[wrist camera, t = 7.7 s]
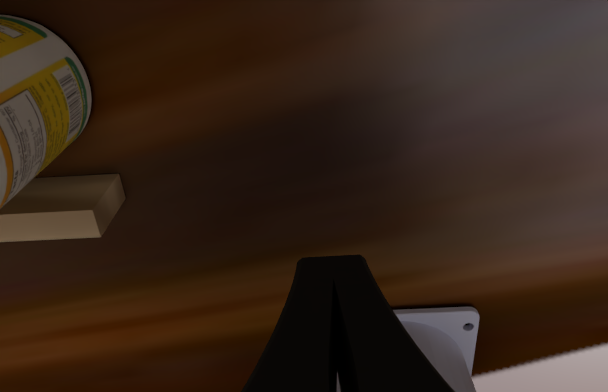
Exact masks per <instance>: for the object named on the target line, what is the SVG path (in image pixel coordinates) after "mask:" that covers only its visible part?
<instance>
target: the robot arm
mask: <svg viewBox="0 0 608 392" xmlns="http://www.w3.org/2000/svg"><path fill="white" fill-rule="evenodd" d="M479 319H480V318H479V314H478V311H477V310H476V309H475V308H473V307H448V308H425V309H402V310H392V308H391V307H390V305H389V304H388V302H387V300H386V299H385V297H384V295H383V294H382V292H381V290H380V288H379V287H378V285H377V283H376V281H375V279H374V277H373V275H372V273H371V271H370V269H369V267H368V265H367V262H366V260H365V258H363V257H362V256H361V255H344V256H326V257H307V258H302V259H300V260H299V261H298V262H297V268H296V272H295V276H294V280H293V283H292V287H291V290H290V292H289V295H288V298H287V301H286V303H285V306H284V308H283V311H282V313H281V315H280V318H279V320H278V322H277V325H276V327H275V329H274V331H273V334H272V336H271V338H270V340H269V342H268V344H267V346H266V348H265V350H264V352H263V353H262V355H261V357H260V359H259V361H258V363H257V365H256V367H255V369H254V371H253V372H252V374H251V376H250V378H249V379H248V381H247V383H246V385H245V386H244V388H243V390H242V391H241V392H476V390H475V388H474V384H473V382H472V379H471V374H472V367H473V360H474V353H475V346H476V339H477V332H478V325H479ZM467 323H470V324H469V325H465V324H467Z"/></svg>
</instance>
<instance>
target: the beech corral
mask: <svg viewBox="0 0 608 392" xmlns="http://www.w3.org/2000/svg"><path fill="white" fill-rule="evenodd" d="M125 199H126V197H125V194H124V190H123V186H122V183H121V179H120V175H119V174H102V175H83V176H65V177H46V178H33V179H32V180H31V181H30V182H29V183H28V184H27V185H26V186H24V187H23V188H22V189H21V190H20V191H19V192H18V193H17V194H16V195H15V196H14V197H13V198H12V199H11V200H10V201H8V202H7V203H6V204H5V205H4V206H3V207H2V208H1V209H0V242H11V241H31V240H52V239H72V238H92V237H101V236H102V235H103V233H104V231H105V230H106V228H107V227H108V225H109V224H110V222H111V221H112V219H113V217H114V216H115V214H116V213H117V211H118V210H119V208H120V207H121V205H122V203H123V202H124V200H125Z"/></svg>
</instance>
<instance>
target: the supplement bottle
mask: <svg viewBox="0 0 608 392" xmlns="http://www.w3.org/2000/svg"><path fill="white" fill-rule="evenodd" d="M91 102H92V99H91V88H90V84H89V81H88V78H87V75H86V72H85V70H84V68H83V66H82V64H81V62H80V61H79V59H78V58H77V56H76V55H75V54H74V52H73V51H72V50H71V49H70V47H69V46H68V45H67V44H66V43H65V42H64V41H63V40H62V39H60V38H59V37H58V36H57V35H55V34H54V33H53V32H51V31H50V30H48V29H47V28H45V27H44V26H42V25H40V24H37V23H35V22H32V21H29V20H26V19H23V18H19V17H14V16H9V15H0V209H1V208H2V207H3V206H4V205H5V204H6V203H7V202H8V201H10V200H11V199H12V198H13V197H14V196H15V195H16V194H17V193H18V192H19V191H20V190H21V189H22V188H23V187H24V186H26V185H27V184H28V183H29V182H30V181H31V180H32V179H33V178H34V177H35V176H36V175H38V174H39V173H40V172H41V171H42V170H43V169H44V168H45V167H46V166H48V165H49V164H50V163H51V162H52V161H53V160H54V159H55V158H56V157H57V156H58V155H59V154H60V153H61V152H62V151H63V150H64V149H66V148H67V147H68V146H69V145H70V144H71V143H72V142H73V141H74V140H75V139H76V138H77V137H78V136H79V135H80V134H81V132H82V131H83V129H84V128H85V126H86V124H87V121H88V119H89V115H90V111H91Z"/></svg>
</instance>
